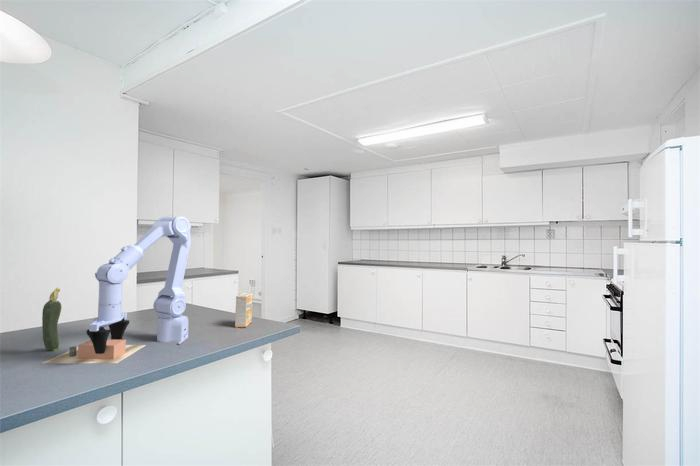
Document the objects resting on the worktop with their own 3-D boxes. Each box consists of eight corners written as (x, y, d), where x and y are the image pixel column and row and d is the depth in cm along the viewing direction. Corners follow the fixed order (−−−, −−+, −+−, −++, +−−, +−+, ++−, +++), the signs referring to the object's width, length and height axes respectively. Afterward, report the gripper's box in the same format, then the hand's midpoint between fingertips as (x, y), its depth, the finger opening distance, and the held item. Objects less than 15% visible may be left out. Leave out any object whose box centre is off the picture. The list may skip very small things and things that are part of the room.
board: (146, 347, 111) (146, 337, 111) (116, 365, 95) (117, 354, 95) (82, 347, 109) (82, 337, 109) (41, 366, 93) (41, 354, 93)
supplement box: (246, 328, 138) (247, 296, 138) (234, 327, 138) (235, 295, 138) (252, 323, 146) (253, 293, 146) (241, 322, 146) (242, 292, 146)
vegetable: (43, 356, 101) (46, 289, 101) (38, 353, 103) (41, 288, 103) (61, 352, 104) (64, 288, 105) (56, 349, 107) (59, 286, 107)
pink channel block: (125, 352, 103) (125, 339, 103) (113, 359, 98) (114, 345, 98) (91, 352, 103) (92, 339, 103) (77, 358, 97) (78, 345, 97)
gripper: (111, 299, 108) (109, 341, 107) (78, 308, 93) (76, 357, 93) (134, 299, 108) (132, 341, 108) (105, 308, 94) (103, 357, 93)
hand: (108, 348), depth 100 cm, fingers open, 7 cm apart
